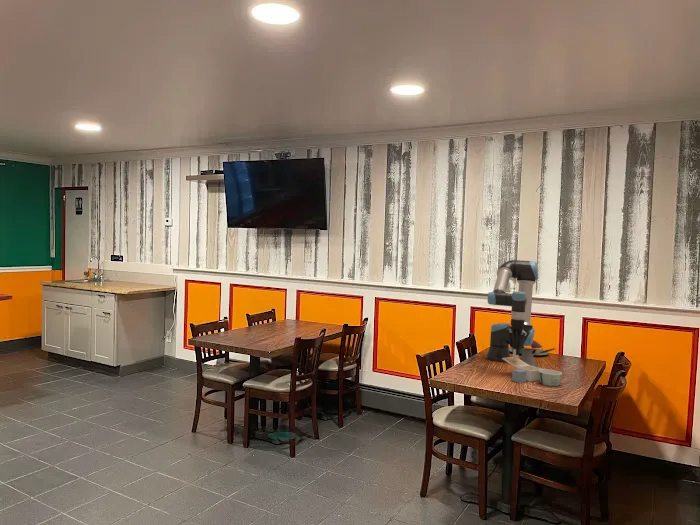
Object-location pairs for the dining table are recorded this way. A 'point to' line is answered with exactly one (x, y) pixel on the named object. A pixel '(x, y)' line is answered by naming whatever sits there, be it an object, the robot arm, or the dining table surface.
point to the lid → (515, 362)
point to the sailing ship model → (534, 345)
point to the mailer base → (531, 373)
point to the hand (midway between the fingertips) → (515, 360)
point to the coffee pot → (530, 356)
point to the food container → (550, 377)
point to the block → (519, 376)
